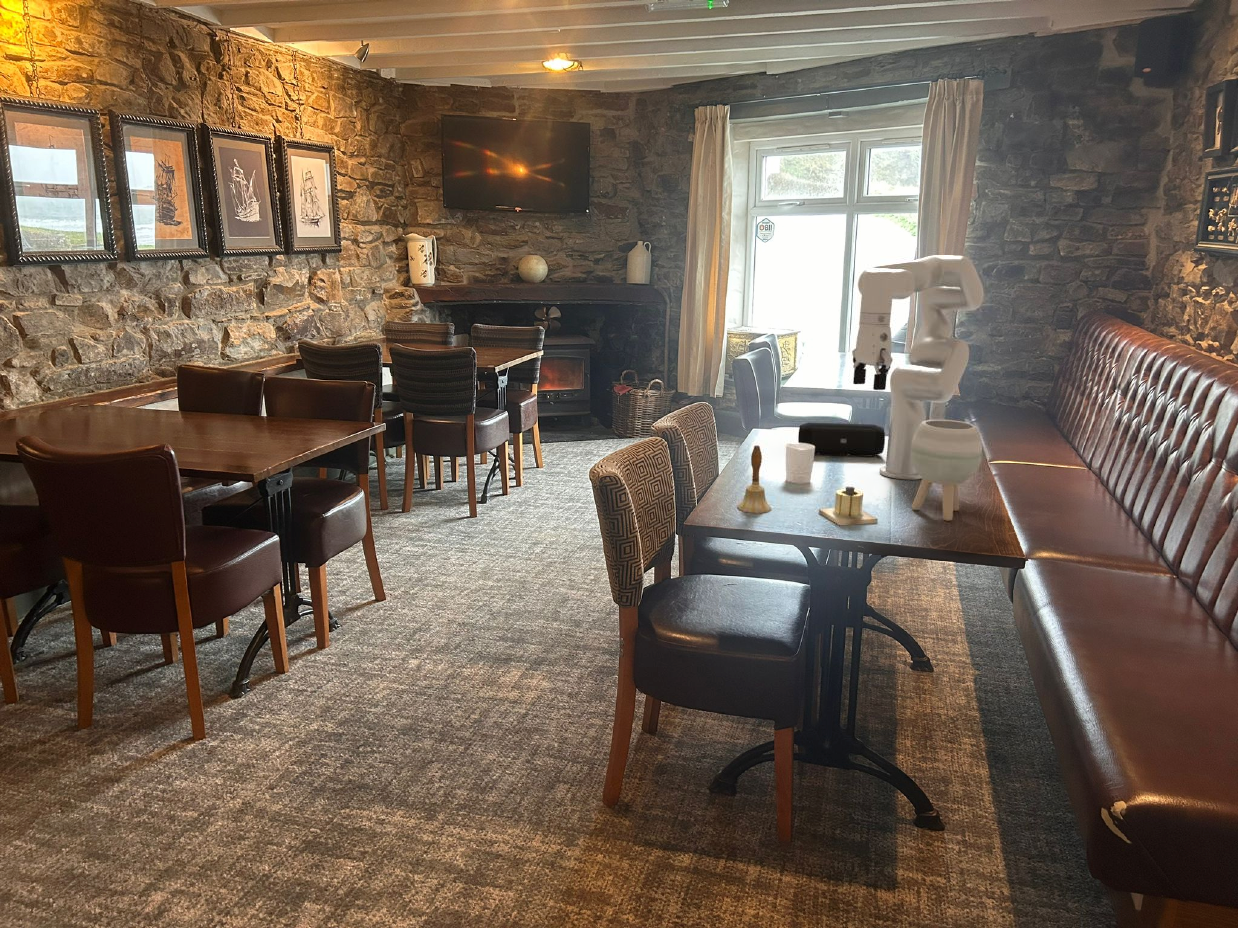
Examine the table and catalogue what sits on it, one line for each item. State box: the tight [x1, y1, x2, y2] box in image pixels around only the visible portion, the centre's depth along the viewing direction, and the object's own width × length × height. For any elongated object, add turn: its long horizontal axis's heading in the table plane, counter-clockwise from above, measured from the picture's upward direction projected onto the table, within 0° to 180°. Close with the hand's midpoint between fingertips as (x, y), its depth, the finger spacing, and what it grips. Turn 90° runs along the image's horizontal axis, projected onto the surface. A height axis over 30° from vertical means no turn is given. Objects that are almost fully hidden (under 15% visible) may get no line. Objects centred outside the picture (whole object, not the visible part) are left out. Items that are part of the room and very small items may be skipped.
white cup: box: [785, 442, 815, 485], centre depth 236 cm, size 8×8×10 cm
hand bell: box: [736, 445, 772, 514], centre depth 209 cm, size 8×8×16 cm
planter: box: [910, 419, 983, 522], centre depth 207 cm, size 16×16×22 cm
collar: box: [834, 488, 864, 517], centre depth 204 cm, size 6×6×5 cm
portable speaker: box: [797, 421, 886, 457], centre depth 269 cm, size 26×10×10 cm, turn 85°
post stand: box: [818, 486, 879, 526], centre depth 204 cm, size 10×10×8 cm
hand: (868, 386), depth 221 cm, fingers open, 9 cm apart
